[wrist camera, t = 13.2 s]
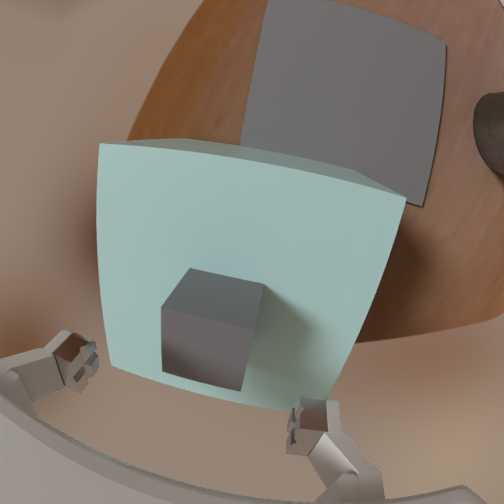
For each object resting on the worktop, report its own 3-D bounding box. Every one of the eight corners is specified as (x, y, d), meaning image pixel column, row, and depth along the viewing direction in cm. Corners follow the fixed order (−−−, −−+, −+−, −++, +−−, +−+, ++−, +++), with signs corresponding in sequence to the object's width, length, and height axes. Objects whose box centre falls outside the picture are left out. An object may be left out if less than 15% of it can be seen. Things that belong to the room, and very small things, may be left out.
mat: (444, 43, 19) (445, 42, 19) (420, 205, 26) (422, 206, 26) (270, -8, 20) (270, -10, 20) (237, 162, 27) (236, 162, 27)
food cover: (350, 169, 26) (444, 220, 9) (310, 313, 32) (318, 459, 15) (184, 138, 26) (49, 150, 10) (171, 284, 32) (87, 400, 16)
